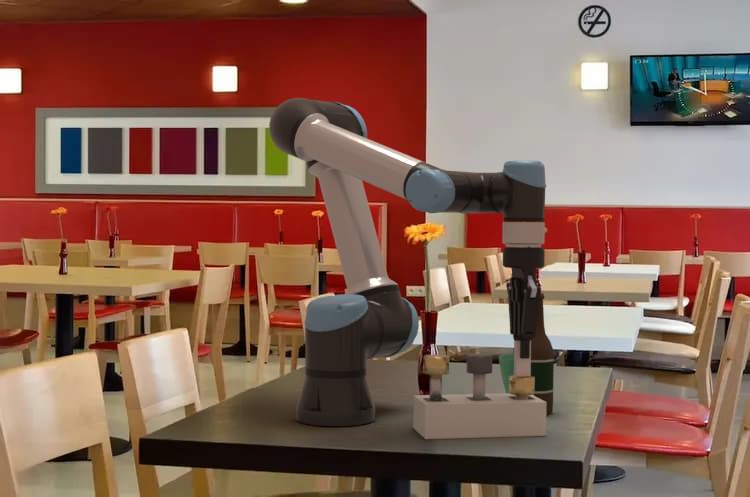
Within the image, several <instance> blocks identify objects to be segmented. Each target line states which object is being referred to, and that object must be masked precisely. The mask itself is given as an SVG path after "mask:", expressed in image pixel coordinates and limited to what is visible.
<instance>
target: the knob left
mask: <svg viewBox="0 0 750 497" xmlns="http://www.w3.org/2000/svg"><path fill="white" fill-rule="evenodd" d="M422 364H423V365H422V367H423V370H422V373H423V374H424V375H429V395H430V401H432V402H441V401H442V395H443V376H444V375H449V374H450V356H449V355H445V354H425V355H423V363H422Z"/></svg>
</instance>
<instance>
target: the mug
mask: <svg viewBox="0 0 750 497" xmlns="http://www.w3.org/2000/svg"><path fill="white" fill-rule="evenodd" d="M498 362H499V368H500V373H501V374H500V375H501V378H502V382H503V386H504V390H505V394H509V376H513V375H514V353H510V354H509V353H508V354H501V355H499V356H498Z"/></svg>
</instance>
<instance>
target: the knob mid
mask: <svg viewBox="0 0 750 497" xmlns="http://www.w3.org/2000/svg"><path fill="white" fill-rule="evenodd" d="M466 373H468V374H472V375H473V377H472V394H473V400H475V401H484V400H485V394H486V375H489V374H492V373H493V355H491V354H486V353H483V354H482V353H471V354H467V355H466Z"/></svg>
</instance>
